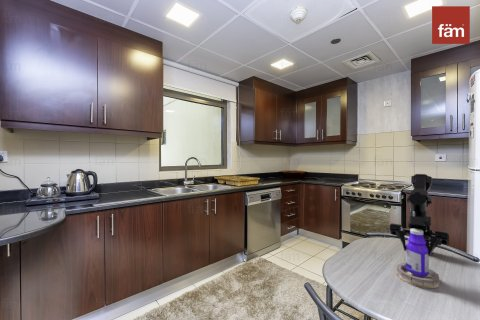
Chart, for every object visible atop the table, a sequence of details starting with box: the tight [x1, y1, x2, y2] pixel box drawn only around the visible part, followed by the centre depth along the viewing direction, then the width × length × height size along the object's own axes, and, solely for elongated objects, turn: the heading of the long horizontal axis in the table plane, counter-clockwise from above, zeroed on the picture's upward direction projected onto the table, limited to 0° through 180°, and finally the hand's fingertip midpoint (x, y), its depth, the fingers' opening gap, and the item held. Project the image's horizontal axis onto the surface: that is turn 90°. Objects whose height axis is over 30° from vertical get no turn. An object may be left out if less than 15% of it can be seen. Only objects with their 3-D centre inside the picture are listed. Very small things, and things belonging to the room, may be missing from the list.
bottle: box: [405, 228, 430, 277], centre depth 87 cm, size 7×6×17 cm
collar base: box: [396, 262, 440, 290], centre depth 87 cm, size 13×13×3 cm
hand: (416, 252), depth 86 cm, fingers closed on bottle, 7 cm apart
